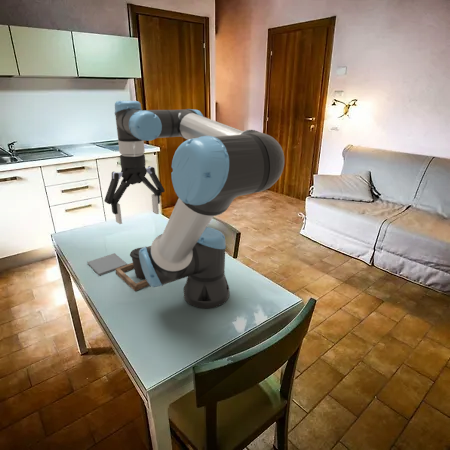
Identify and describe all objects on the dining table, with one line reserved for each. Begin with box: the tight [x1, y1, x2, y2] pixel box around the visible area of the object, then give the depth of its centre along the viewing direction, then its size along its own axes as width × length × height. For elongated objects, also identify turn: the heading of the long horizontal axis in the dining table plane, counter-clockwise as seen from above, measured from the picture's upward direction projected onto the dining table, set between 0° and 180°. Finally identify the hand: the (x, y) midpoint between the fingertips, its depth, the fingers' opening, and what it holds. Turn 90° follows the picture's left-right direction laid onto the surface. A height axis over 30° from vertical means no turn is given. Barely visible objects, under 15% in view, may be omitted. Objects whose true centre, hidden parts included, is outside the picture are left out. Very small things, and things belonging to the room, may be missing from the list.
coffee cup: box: [129, 246, 146, 280], centre depth 114 cm, size 8×8×10 cm
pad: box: [86, 253, 128, 277], centre depth 122 cm, size 11×11×1 cm
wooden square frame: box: [115, 262, 150, 292], centre depth 116 cm, size 14×14×3 cm
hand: (138, 217), depth 107 cm, fingers open, 13 cm apart
